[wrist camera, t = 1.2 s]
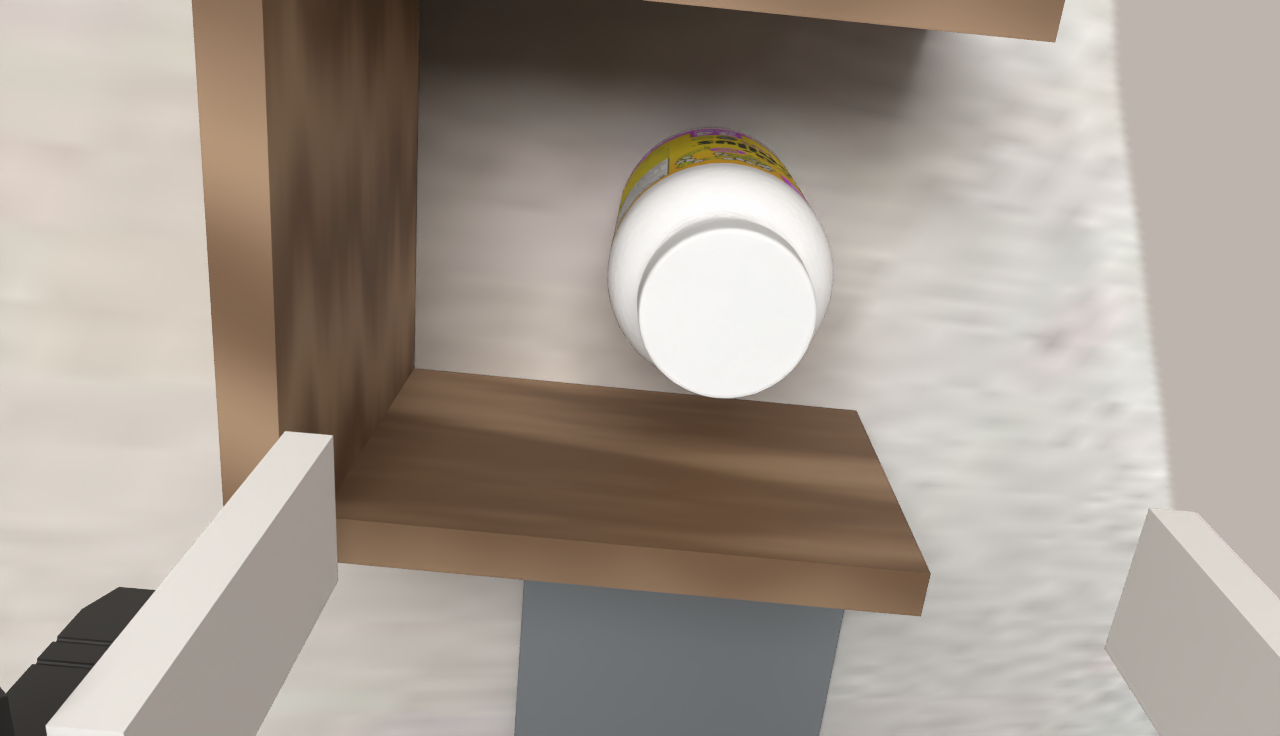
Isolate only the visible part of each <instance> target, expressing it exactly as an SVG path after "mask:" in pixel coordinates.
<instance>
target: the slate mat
mask: <svg viewBox="0 0 1280 736" xmlns="http://www.w3.org/2000/svg"><path fill="white" fill-rule="evenodd" d="M843 613H844V609H836V608H825V607H814V606H803V605H792V604H782V603H771V602H760V601H749V600H738V599H727V598H717V597H706V596H695V595H684V594H673V593H662V592H652V591H641V590H630V589H619V588H608V587H597V586H586V585H576V584H565V583H554V582H543V581H532V580H524V592H523V608H522V623H521V639H520V655H519V671H518V687H517V703H516V719H515V735H514V736H819V732H820V727H821V722H822V718H823V713H824V708H825V703H826V698H827V693H828V688H829V683H830V678H831V673H832V668H833V663H834V658H835V653H836V648H837V643H838V638H839V633H840V628H841V623H842V618H843Z"/></svg>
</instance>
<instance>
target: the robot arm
mask: <svg viewBox="0 0 1280 736" xmlns="http://www.w3.org/2000/svg"><path fill="white" fill-rule="evenodd" d="M337 582H338V566H337V537H336V507H335V478H334V448H333V435H323V434H311V433H300V432H289V431H285V432H284V433H283V434H282V436H281V437H280V438H279V439H278V441H277V442H276V443H275V444H274V445H273V447H272V448H271V449H270V450H269V452H268V453H267V454H266V455H265V457H264V458H263V459H262V460H261V461H260V463H259V464H258V465H257V466H256V468H255V469H254V470H253V471H252V473H251V474H250V475H249V476H248V477H247V479H246V480H245V481H244V482H243V484H242V485H241V486H240V487H239V488H238V490H237V491H236V492H235V493H234V495H233V496H232V497H231V498H230V500H229V501H228V502H227V503H226V504H225V506H224V507H223V508H222V509H221V511H220V512H219V513H218V514H217V516H216V517H215V518H214V519H213V520H212V522H211V523H210V524H209V525H208V527H207V528H206V529H205V530H204V532H203V533H202V534H201V535H200V536H199V538H198V539H197V540H196V541H195V543H194V544H193V545H192V546H191V547H190V549H189V550H188V551H187V552H186V554H185V555H184V556H183V557H182V559H181V560H180V561H179V562H178V563H177V565H176V566H175V567H174V568H173V570H172V571H171V572H170V573H169V575H168V576H167V577H166V578H165V579H164V581H163V582H162V583H161V584H160V586H159V587H158V588H157V589H156V590H147V589H136V588H124V587H118V588H116V589H115V590H113V591H111V592H110V593H108V594H106V595H105V596H103V597H101V598H100V599H98V600H96V601H95V602H93V603H91V604H90V605H88V606H86V607H85V608H83V609H82V610H81V611H80V612H79V613H78V614H77V615H76V616H75V617H74V619H73V620H72V621H71V622H70V623H69V624H68V625H67V626H66V627H65V629H64V630H63V631H62V632H61V633H60V634H59V635H58V636H57V641H56V642H52V643H51V644H50V645H49V646H48V647H47V648H46V650H45V651H44V652H43V653H42V654H41V655H40V656H39V657H38V658H37V663H36V665H35V664H32V665H31V666H30V667H29V668H28V669H27V671H26V672H25V673H24V674H23V675H22V676H21V677H20V678H19V679H18V681H17V682H16V683H15V684H14V685H13V686H12V687H11V688H10V689H9V691H8V692H7V693H6V694H5V692H4V691H3V690H2V689H1V687H0V736H256V734H257V732H258V730H259V728H260V726H261V724H262V722H263V721H264V719H265V717H266V715H267V713H268V711H269V709H270V707H271V706H272V704H273V702H274V700H275V698H276V696H277V694H278V692H279V691H280V689H281V687H282V685H283V683H284V681H285V679H286V677H287V676H288V674H289V672H290V670H291V668H292V666H293V664H294V662H295V661H296V659H297V657H298V655H299V653H300V651H301V649H302V647H303V646H304V644H305V642H306V640H307V638H308V636H309V634H310V632H311V631H312V629H313V627H314V625H315V623H316V621H317V619H318V617H319V615H320V614H321V612H322V610H323V608H324V606H325V604H326V602H327V600H328V599H329V597H330V595H331V593H332V591H333V589H334V587H335V585H336V584H337ZM1105 650H1106V652H1107V653H1108V655H1109V656H1110V658H1111V659H1112V661H1113V663H1114V664H1115V666H1116V667H1117V669H1118V671H1119V672H1120V674H1121V675H1122V677H1123V678H1124V680H1125V682H1126V683H1127V685H1128V686H1129V688H1130V690H1131V691H1132V693H1133V694H1134V696H1135V697H1136V699H1137V701H1138V702H1139V704H1140V705H1141V707H1142V709H1143V710H1144V712H1145V713H1146V715H1147V716H1148V718H1149V720H1150V721H1151V723H1152V724H1153V726H1154V728H1155V729H1156V731H1157V732H1158V734H1159V735H1160V736H1280V599H1278V597H1277V596H1276V595H1275V594H1274V593H1273V592H1272V591H1271V590H1270V589H1269V588H1268V587H1267V586H1266V585H1265V584H1264V583H1263V582H1262V581H1261V579H1260V578H1259V577H1258V576H1257V575H1255V573H1254V572H1253V571H1252V570H1251V569H1250V568H1249V567H1248V566H1247V565H1246V564H1245V563H1244V562H1243V561H1242V560H1241V559H1240V557H1239V556H1238V555H1237V554H1236V553H1235V552H1234V551H1233V550H1232V549H1231V548H1230V547H1229V546H1228V545H1227V544H1226V543H1225V542H1224V541H1223V540H1222V539H1221V537H1220V536H1218V534H1217V533H1216V532H1215V531H1214V530H1213V529H1212V528H1211V527H1210V526H1209V525H1208V524H1207V523H1206V522H1205V521H1204V520H1203V519H1202V518H1201V517H1200V515H1199V514H1198V513H1196V512H1188V511H1177V510H1165V509H1154V508H1149V510H1148V513H1147V516H1146V519H1145V523H1144V526H1143V529H1142V532H1141V535H1140V538H1139V541H1138V544H1137V548H1136V551H1135V554H1134V557H1133V560H1132V563H1131V566H1130V569H1129V573H1128V576H1127V579H1126V582H1125V585H1124V588H1123V591H1122V595H1121V598H1120V601H1119V604H1118V607H1117V610H1116V613H1115V616H1114V620H1113V623H1112V626H1111V629H1110V632H1109V635H1108V638H1107V641H1106V645H1105Z"/></svg>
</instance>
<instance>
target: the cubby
mask: <svg viewBox="0 0 1280 736" xmlns="http://www.w3.org/2000/svg"><path fill="white" fill-rule="evenodd" d="M645 1H655V2H665V3H675V4H684V5H694V6H704V7H714V8H724V9H733V10H743V11H753V12H763V13H772V14H782V15H792V16H802V17H811V18H821V19H831V20H841V21H851V22H860V23H870V24H880V25H890V26H899V27H909V28H919V29H929V30H939V31H948V32H958V33H968V34H978V35H987V36H997V37H1007V38H1017V39H1027V40H1036V41H1046V42H1055V41H1056V36H1057V32H1058V28H1059V24H1060V19H1061V15H1062V11H1063V7H1064V2H1065V0H645ZM192 11H193V27H194V43H195V59H196V75H197V91H198V107H199V123H200V139H201V155H202V171H203V187H204V203H205V219H206V235H207V251H208V267H209V284H210V300H211V316H212V332H213V348H214V364H215V380H216V396H217V412H218V428H219V444H220V460H221V476H222V492H223V507H224V506H225V504H226V503H227V502H228V501H229V500H230V498H231V497H232V496H233V495H234V493H235V492H236V491H237V490H238V488H239V487H240V486H241V485H242V484H243V482H244V481H245V480H246V479H247V477H248V476H249V475H250V474H251V473H252V471H253V470H254V469H255V468H256V466H257V465H258V464H259V463H260V461H261V460H262V459H263V458H264V457H265V455H266V454H267V453H268V452H269V450H270V449H271V448H272V447H273V445H274V444H275V443H276V442H277V441H278V439H279V438H280V437H281V436H282V434H283V433H284V432H285V431H289V432H300V433H311V434H323V435H333V448H334V478H335V507H336V537H337V563H348V564H359V565H370V566H381V567H391V568H402V569H413V570H424V571H435V572H446V573H456V574H467V575H478V576H489V577H500V578H511V579H521V580H532V581H543V582H554V583H565V584H576V585H586V586H597V587H608V588H619V589H630V590H641V591H652V592H662V593H673V594H684V595H695V596H706V597H717V598H727V599H738V600H749V601H760V602H771V603H782V604H792V605H803V606H814V607H825V608H836V609H847V610H857V611H868V612H879V613H890V614H901V615H912V616H921V613H922V609H923V604H924V600H925V596H926V592H927V587H928V583H929V579H930V574H931V573H930V571H929V569H928V567H927V565H926V562H925V560H924V558H923V556H922V554H921V551H920V549H919V547H918V545H917V543H916V540H915V538H914V536H913V534H912V532H911V529H910V527H909V525H908V523H907V521H906V519H905V516H904V514H903V512H902V510H901V508H900V505H899V503H898V501H897V499H896V497H895V494H894V492H893V490H892V488H891V486H890V483H889V481H888V479H887V477H886V475H885V472H884V470H883V468H882V466H881V464H880V461H879V459H878V457H877V455H876V453H875V451H874V448H873V446H872V444H871V442H870V440H869V437H868V435H867V433H866V431H865V429H864V426H863V424H862V422H861V420H860V418H859V415H858V413H857V411H853V410H843V409H832V408H822V407H812V406H801V405H791V404H780V403H770V402H759V401H749V400H738V399H728V398H712V397H707V396H697V395H686V394H676V393H665V392H655V391H644V390H634V389H623V388H613V387H603V386H592V385H582V384H571V383H561V382H550V381H540V380H529V379H519V378H508V377H498V376H488V375H477V374H467V373H456V372H446V371H435V370H425V369H414V349H415V282H416V216H417V149H418V83H419V16H420V0H192Z"/></svg>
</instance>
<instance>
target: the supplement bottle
mask: <svg viewBox="0 0 1280 736" xmlns="http://www.w3.org/2000/svg"><path fill="white" fill-rule="evenodd" d="M832 286H833V261H832V254H831V250H830V246H829V242H828V239H827V236H826V234H825V231H824V229H823V227H822V225H821V223H820V221H819V220H818V218H817V216H816V214H815V213H814V211H813V210H812V208H811V207H810V205H809V204H808V202H807V201H806V199H805V198H804V196H803V194H802V193H801V191H800V189H799V188H798V186H797V185H796V183H795V182H794V180H793V178H792V177H791V175H790V174H789V172H788V171H787V169H786V168H785V166H784V165H783V164H782V163H781V161H780V160H779V159H778V158H777V157H776V156H775V154H774V153H773V152H771V151H770V150H769V149H768V148H767V147H766V146H765V145H763V144H762V143H760V142H759V141H757V140H756V139H754V138H752V137H750V136H748V135H746V134H743V133H741V132H737V131H734V130H730V129H725V128H716V127H705V128H697V129H691V130H687V131H683V132H680V133H678V134H675V135H673V136H671V137H669V138H667V139H665V140H664V141H662V142H660V143H659V144H658V145H656V146H655V147H654V148H652V149H651V150H650V151H649V152H648V153H647V154H646V155H645V156H644V157H643V158H642V160H641V161H640V162H639V163H638V165H637V166H636V168H635V169H634V170H633V172H632V174H631V175H630V177H629V179H628V181H627V183H626V186H625V188H624V191H623V195H622V199H621V203H620V207H619V212H618V217H617V222H616V227H615V233H614V237H613V241H612V245H611V251H610V257H609V263H608V291H609V297H610V302H611V306H612V309H613V312H614V315H615V317H616V320H617V322H618V325H619V326H620V328H621V330H622V332H623V334H624V335H625V336H626V338H627V339H628V341H629V342H630V343H631V345H632V346H633V347H634V348H635V349H636V350H637V352H638V353H639V354H640V355H641V356H643V357H644V358H645V359H646V360H647V361H648V362H650V363H651V364H652V365H654V366H655V367H656V368H658V369H659V370H660V371H661V372H662V373H663V374H664V375H665V376H666V377H667V378H669V379H670V380H671V381H672V382H674V383H675V384H677V385H679V386H680V387H682V388H684V389H686V390H688V391H690V392H693V393H696V394H699V395H702V396H707V397H712V398H738V397H744V396H748V395H752V394H755V393H758V392H760V391H763V390H765V389H767V388H769V387H771V386H773V385H774V384H776V383H777V382H779V381H781V380H782V379H783V378H784V377H786V376H787V375H788V374H789V373H790V372H791V371H792V370H793V369H794V368H795V367H796V365H797V364H798V363H799V362H800V360H801V359H802V357H803V356H804V354H805V352H806V351H807V349H808V347H809V345H810V342H811V339H812V338H813V336H814V335H815V333H816V332H817V330H818V328H819V327H820V325H821V323H822V321H823V319H824V317H825V314H826V311H827V308H828V305H829V302H830V298H831V292H832Z"/></svg>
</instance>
